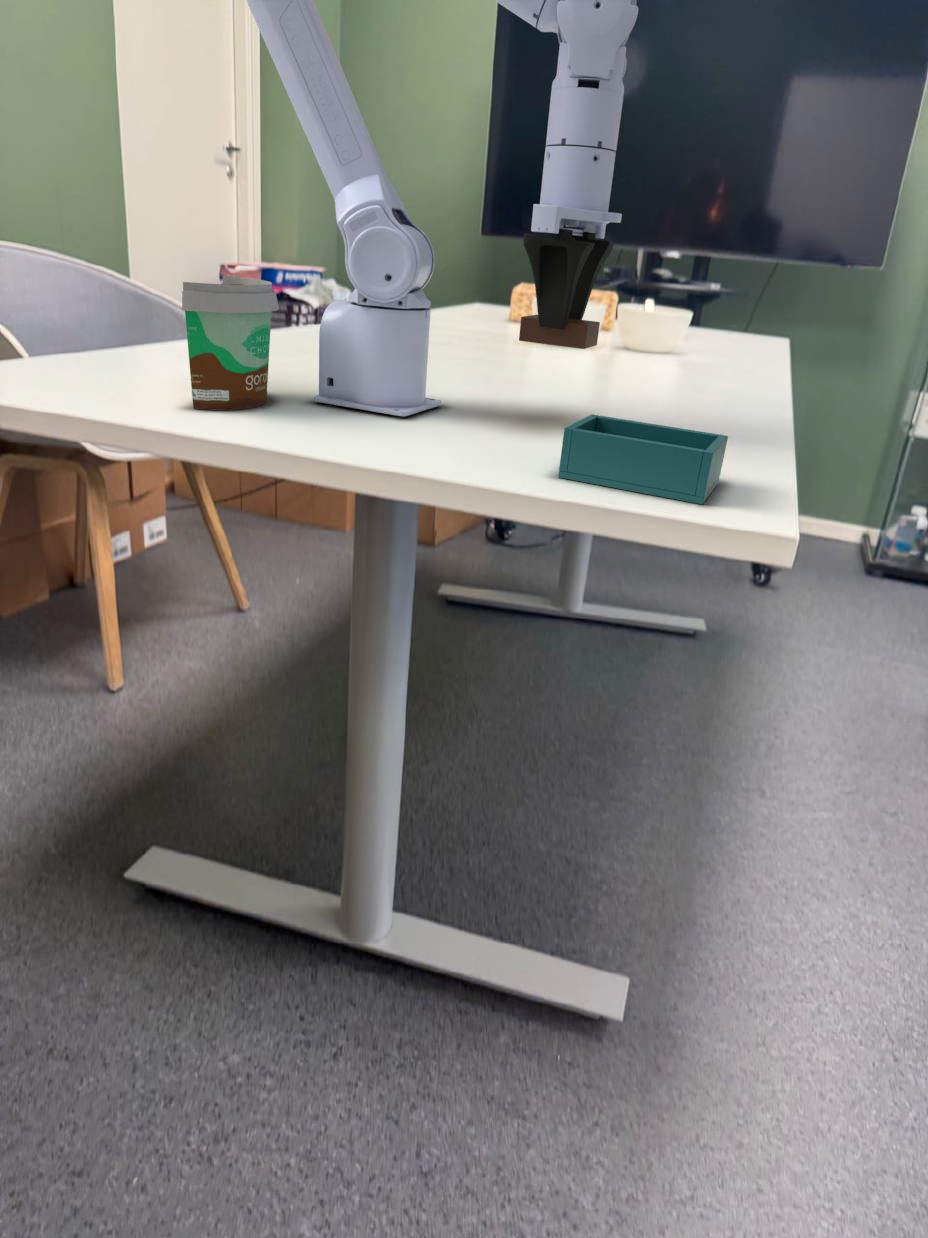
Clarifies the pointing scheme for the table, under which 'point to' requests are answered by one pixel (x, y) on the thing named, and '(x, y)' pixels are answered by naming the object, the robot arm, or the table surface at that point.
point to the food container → (229, 341)
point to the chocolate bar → (560, 333)
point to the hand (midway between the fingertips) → (559, 326)
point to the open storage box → (643, 457)
